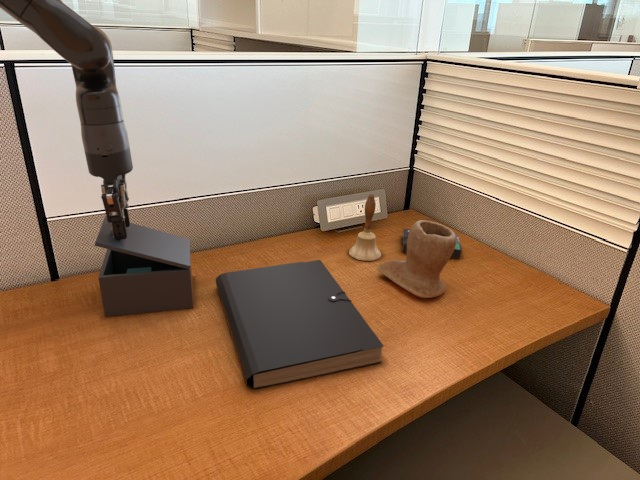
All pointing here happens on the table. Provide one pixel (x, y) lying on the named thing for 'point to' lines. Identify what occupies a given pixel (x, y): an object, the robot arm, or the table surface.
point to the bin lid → (147, 244)
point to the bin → (143, 285)
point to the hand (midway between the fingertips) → (122, 232)
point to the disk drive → (455, 253)
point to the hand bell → (366, 237)
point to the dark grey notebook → (294, 324)
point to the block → (139, 270)
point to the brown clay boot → (422, 259)
